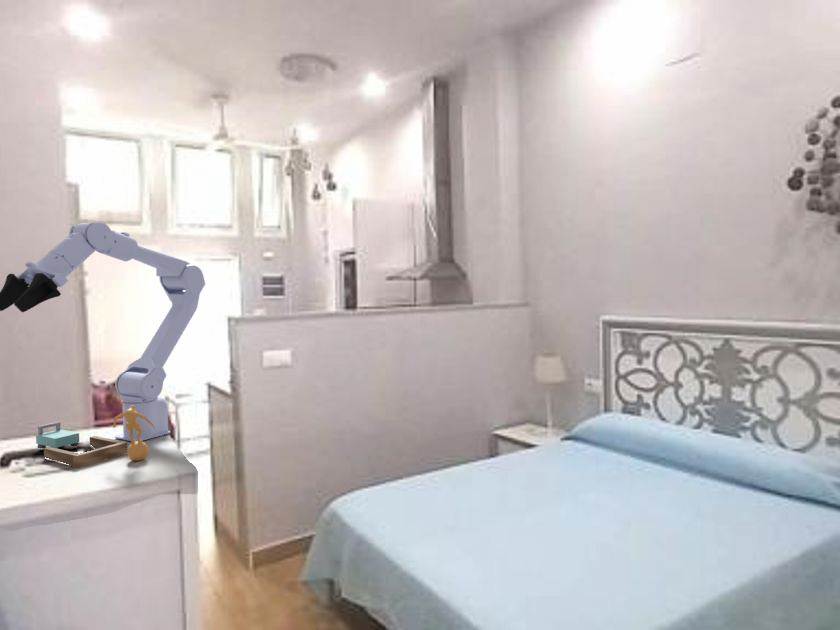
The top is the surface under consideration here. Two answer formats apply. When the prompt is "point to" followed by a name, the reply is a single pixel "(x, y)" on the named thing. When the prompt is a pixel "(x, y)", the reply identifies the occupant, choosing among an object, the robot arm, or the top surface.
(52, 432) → the mint block
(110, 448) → the dock
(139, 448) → the figurine
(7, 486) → the top surface
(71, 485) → the top surface
